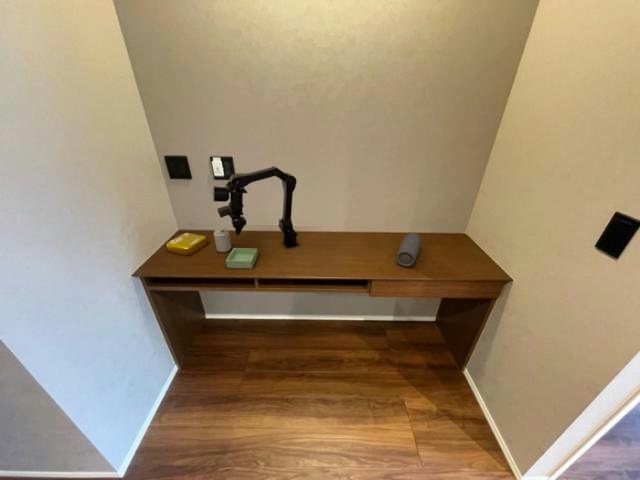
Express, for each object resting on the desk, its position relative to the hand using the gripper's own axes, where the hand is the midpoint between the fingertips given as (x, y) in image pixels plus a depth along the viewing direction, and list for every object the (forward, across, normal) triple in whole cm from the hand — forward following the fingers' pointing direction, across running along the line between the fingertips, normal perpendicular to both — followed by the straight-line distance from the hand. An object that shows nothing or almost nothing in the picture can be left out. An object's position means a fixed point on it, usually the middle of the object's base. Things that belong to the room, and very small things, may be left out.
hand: (236, 231), depth 131 cm
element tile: (+17, -20, -22) cm, 34 cm away
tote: (+14, +7, +2) cm, 15 cm away
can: (+15, -9, -4) cm, 18 cm away
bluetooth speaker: (+2, +38, +81) cm, 89 cm away
